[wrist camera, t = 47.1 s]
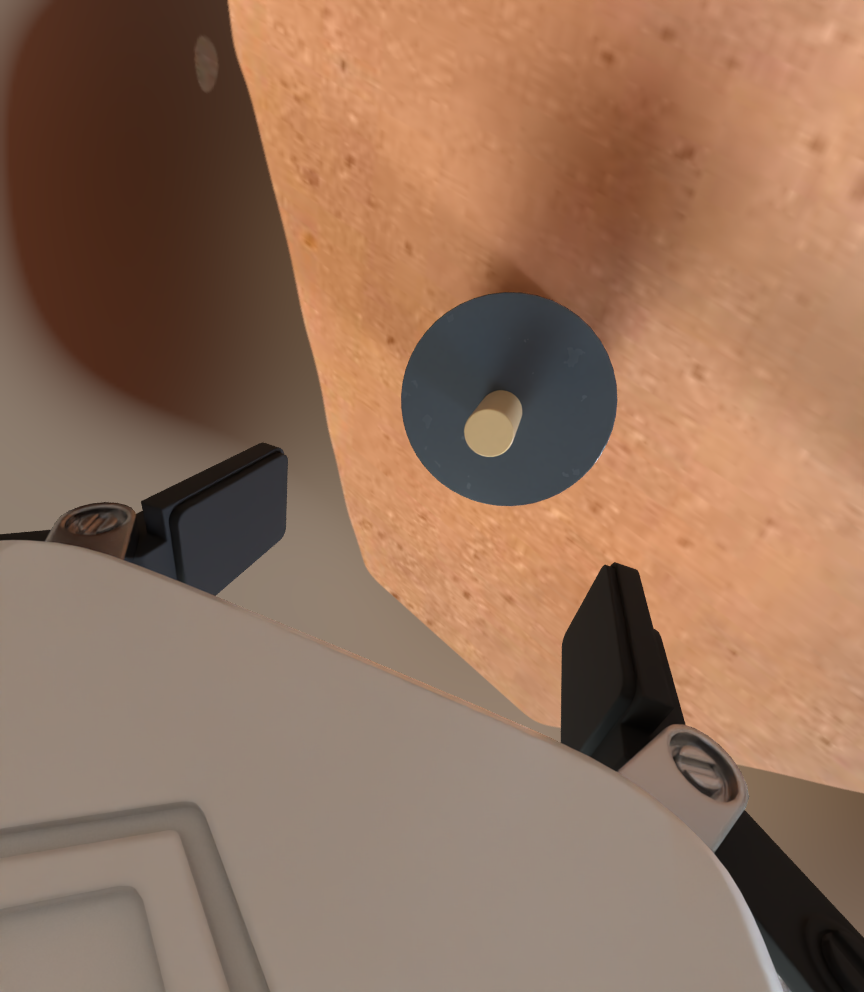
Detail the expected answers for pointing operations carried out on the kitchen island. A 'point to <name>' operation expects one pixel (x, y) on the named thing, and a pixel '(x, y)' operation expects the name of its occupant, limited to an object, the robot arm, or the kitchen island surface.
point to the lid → (509, 399)
